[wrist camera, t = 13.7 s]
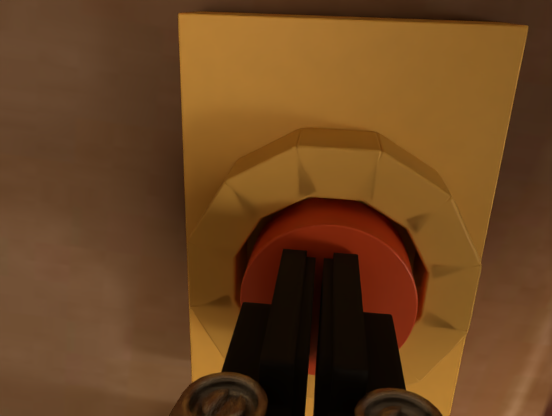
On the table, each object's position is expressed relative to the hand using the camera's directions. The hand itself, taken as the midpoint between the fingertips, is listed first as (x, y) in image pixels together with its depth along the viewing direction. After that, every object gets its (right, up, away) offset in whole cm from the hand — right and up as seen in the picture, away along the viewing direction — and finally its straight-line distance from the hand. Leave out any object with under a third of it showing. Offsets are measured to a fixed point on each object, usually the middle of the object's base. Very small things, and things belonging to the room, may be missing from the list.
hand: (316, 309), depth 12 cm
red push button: (0, +1, +2) cm, 2 cm away
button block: (+1, +2, +4) cm, 5 cm away
